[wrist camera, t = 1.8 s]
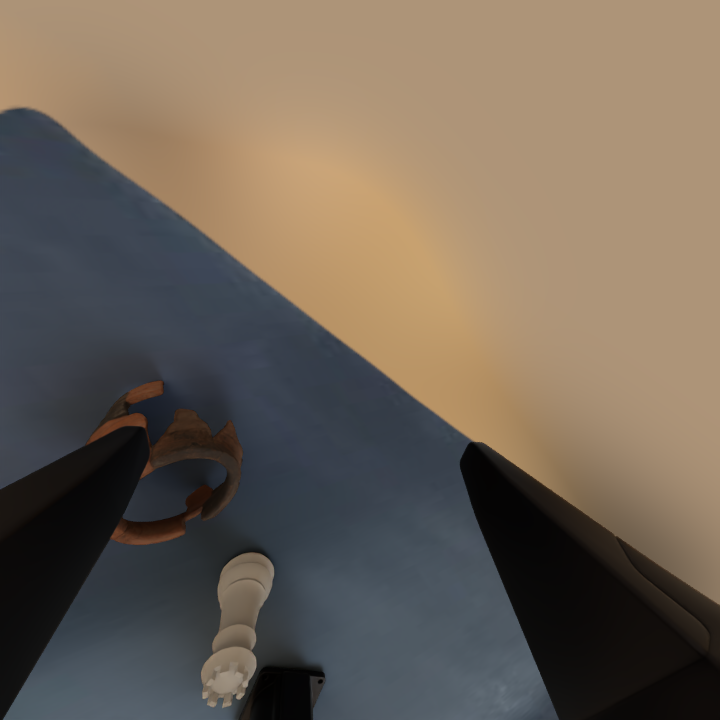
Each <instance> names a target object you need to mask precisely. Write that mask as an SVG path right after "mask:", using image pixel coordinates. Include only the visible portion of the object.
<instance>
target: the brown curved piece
mask: <svg viewBox="0 0 720 720" xmlns="http://www.w3.org/2000/svg"><path fill="white" fill-rule="evenodd" d="M163 385H164V382H163V381H155V382H150V383H147V384H144V385H141V386H139V387H137V388H135V389H133V390H131V391H129V392H127V393H126V394H124V395H123V396H122V397H120V398H119V399H118V400H117V401H116V402H115V403H114V405H113V406H112V407H111V409H110V410H109V412H108V413H107V415H106V416H105V418H104V419H103V420H102V421H101V423H100V424H99V426H98V427H97V428H96V430H95V431H94V432H93V434H92V435H91V436H90V438H89V440H88V441H87V443H86V445H87V444H89V443H91V442H93V441H95V440H97V439H99V438H101V437H103V436H105V435H107V434H108V433H110V432H112V431H114V430H116V429H118V428H120V427H122V426H142V427H144V428H145V429H146V432H147V437H148V442H149V447H150V457H149V460H148V462H147V465H146V467H145V469H144V471H143V473H142V475H141V477H140V479H142V478H143V477H145V476H146V475H148V474H149V473H151V472H152V471H154V470H155V469H156V468H159V467H162V466H165V465H168V464H170V463H173V462H176V461H180V460H185V459H197V458H204V459H211V460H216V461H217V462H219V463H221V464H222V465H223V466H224V467H225V468H226V470H227V477H226V480H225V482H224V483H222V484H221V485H220V486H219V487H217V488H215V489H214V490H213V489H212V488H210V487H208V486H207V485H203V486H201V487H200V488H198V489H197V490H195V491H194V492H193V493H192V494H191V495H189V496H188V497H187V499H186V503H185V504H186V506H187V507H188V508H187V511H186V512H185V513H182V514H180V515H177V516H174V517H171V518H167V519H163V520H158V521H153V522H133V521H128V520H125V519H123V518H121V520H120V522H119V524H118V526H117V528H116V529H115V531H114V533H113V535H112V536H111V538H110V539H112V540H115V541H117V542H121V543H124V544H133V545H146V544H151V543H154V544H155V543H159V542H163V541H167V540H171V539H174V538H177V537H179V536H181V535H183V534H185V531H186V525H185V522H186V521H187V520H189V519H191V518H193V517H195V516H197V515H198V514H200V513H201V519H202V520H204V521H205V520H208V519H211V518H214V517H215V516H216V515H218V514H219V513H220V512H221V511H222V510H223V509H224V508H225V507H226V505H227V504H228V503H229V502H230V501H231V500H232V498H233V497H234V495H235V493H236V492H237V489H238V486H239V481H240V478H241V470H240V467H241V464H242V455H243V450H242V447H241V445H240V443H239V441H238V438H237V435H236V432H235V428H234V425H233V423H232V421H231V420H229V421H227V423H226V425H225V427H224V428H223V429H222V430H221V431H220V432H219V433H217V434H216V435H215V436H214V437H212V435H211V429H210V428H209V426H208V425H207V423H205V422H204V421H203V420H201V419H200V418H199V417H198V415H197V413H196V412H195V411H193V410H188V409H177V410H176V411H175V416H174V422H173V423H172V424H171V425H170V426H169V427H168V428H167V430H166V431H165V433H164V434H163V436H162V437H161V438H160V439H159V440H158V441H157V443H156V444H155V445H154V446H152V444H151V442H150V439H149V436H148V430H147V427H148V421H147V418H146V417H144V415H142V414H140V413H134V414H131V415H129V412H128V409H129V407H130V405H132V404H135V403H137V402H140V401H142V400H145V399H148V398H152V397H156V396H159V395H162V394H163V393H164V390H163Z"/></svg>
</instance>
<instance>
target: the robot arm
mask: <svg viewBox="0 0 720 720" xmlns="http://www.w3.org/2000/svg"><path fill="white" fill-rule="evenodd" d="M149 457H150V447H149V442H148V437H147V432H146V429H145V428H144V427H142V426H122V427H120V428H118V429H116V430H114V431H112V432H110V433H108V434H107V435H105V436H103V437H101V438H99V439H97V440H95V441H93V442H91V443H89V444H87V445H85V446H83V447H81V448H80V449H78V450H76V451H74V452H72V453H70V454H68V455H66V456H64V457H62V458H60V459H58V460H56V461H55V462H53V463H51V464H49V465H47V466H45V467H43V468H41V469H39V470H37V471H35V472H33V473H31V474H30V475H28V476H26V477H24V478H22V479H20V480H18V481H16V482H14V483H12V484H10V485H8V486H6V487H5V488H3V489H1V490H0V720H3V718H4V717H5V715H6V713H7V712H8V710H9V708H10V707H11V705H12V703H13V702H14V700H15V698H16V697H17V695H18V693H19V691H20V690H21V688H22V686H23V685H24V683H25V681H26V680H27V678H28V676H29V675H30V673H31V671H32V670H33V668H34V666H35V664H36V663H37V661H38V659H39V658H40V656H41V654H42V653H43V651H44V649H45V648H46V646H47V644H48V643H49V641H50V639H51V638H52V636H53V634H54V632H55V631H56V629H57V627H58V626H59V624H60V622H61V621H62V619H63V617H64V616H65V614H66V612H67V611H68V609H69V607H70V605H71V604H72V602H73V600H74V599H75V597H76V595H77V594H78V592H79V590H80V589H81V587H82V585H83V584H84V582H85V580H86V578H87V577H88V575H89V573H90V572H91V570H92V568H93V567H94V565H95V563H96V562H97V560H98V558H99V557H100V555H101V553H102V551H103V550H104V548H105V546H106V545H107V543H108V541H109V540H110V538H111V536H112V535H113V533H114V531H115V529H116V528H117V526H118V524H119V522H120V520H121V518H122V516H123V514H124V512H125V510H126V508H127V506H128V503H129V501H130V499H131V497H132V495H133V493H134V490H135V488H136V486H137V484H138V482H139V480H140V477H141V475H142V473H143V471H144V469H145V467H146V465H147V462H148V460H149ZM460 469H461V472H462V475H463V479H464V482H465V485H466V488H467V491H468V495H469V498H470V501H471V504H472V508H473V511H474V513H475V516H476V519H477V522H478V524H479V527H480V529H481V531H482V534H483V536H484V539H485V541H486V544H487V546H488V548H489V551H490V553H491V556H492V558H493V561H494V563H495V565H496V568H497V570H498V573H499V575H500V578H501V580H502V582H503V585H504V587H505V590H506V592H507V594H508V597H509V599H510V602H511V604H512V607H513V609H514V611H515V614H516V616H517V619H518V621H519V624H520V626H521V628H522V631H523V633H524V636H525V638H526V640H527V643H528V645H529V648H530V650H531V653H532V655H533V657H534V660H535V662H536V665H537V667H538V670H539V672H540V674H541V677H542V679H543V682H544V684H545V686H546V689H547V691H548V694H549V696H550V699H551V701H552V703H553V706H554V708H555V711H556V713H557V716H558V718H559V720H720V605H719V604H717V603H716V602H714V601H713V600H711V599H709V598H708V597H706V596H705V595H703V594H701V593H700V592H699V591H697V590H695V589H694V588H693V587H691V586H689V585H688V584H686V583H685V582H683V581H682V580H680V579H679V578H677V577H676V576H674V575H673V574H671V573H670V572H668V571H667V570H665V569H664V568H662V567H661V566H659V565H658V564H656V563H655V562H653V561H652V560H650V559H649V558H648V557H646V556H645V555H643V554H642V553H640V552H639V551H637V550H636V549H634V548H633V547H632V546H630V545H629V544H627V543H626V542H624V541H623V540H622V539H620V538H619V537H617V536H615V535H614V534H613V533H612V532H610V531H609V530H607V529H606V528H604V527H603V526H602V525H600V524H599V523H597V522H596V521H594V520H593V519H591V518H590V517H589V516H587V515H586V514H584V513H583V512H582V511H580V510H579V509H577V508H576V507H574V506H573V505H572V504H570V503H568V502H567V501H566V500H564V499H563V498H562V497H560V496H559V495H557V494H556V493H554V492H553V491H552V490H550V489H549V488H547V487H546V486H544V485H543V484H542V483H540V482H539V481H537V480H536V479H534V478H533V477H532V476H530V475H529V474H527V473H526V472H524V471H523V470H522V469H520V468H519V467H517V466H516V465H514V464H513V463H511V462H510V461H509V460H507V459H506V458H504V457H503V456H502V455H500V454H499V453H497V452H496V451H494V450H493V449H492V448H490V447H489V446H487V445H486V444H484V443H482V442H470V443H469V444H468V445H467V447H466V449H465V451H464V453H463V455H462V457H461V460H460ZM324 683H325V674H324V673H323V672H316V671H305V670H294V669H283V668H272V667H265V668H263V669H261V671H260V673H259V675H258V678H257V680H256V682H255V684H254V687H253V689H252V691H251V693H250V696H249V698H248V700H247V702H246V705H245V707H244V709H243V712H242V714H241V716H240V718H239V720H313V707H314V705H315V703H316V701H317V699H318V696H319V694H320V692H321V690H322V687H323V685H324Z"/></svg>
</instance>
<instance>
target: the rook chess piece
mask: <svg viewBox="0 0 720 720" xmlns="http://www.w3.org/2000/svg"><path fill="white" fill-rule="evenodd" d="M273 577H274V567H273V565H272V563H271V562H270V560H269V559H268V558H267V557H265V556H264V555H262V554H260V553H255V552H249V553H243V554H241V555H239V556H237V557H235V558H234V559H232V560H230V562H229V563H228V564H227V565H226V566H225V567H224V568H223V570H222V573H221V575H220V582H219V585H218V601H219V602H220V608H221V610H222V613H221V621H220V629H219V633H218V635H217V636H216V637H215V639H214V641H213V644H212V648H213V653H214V654H213V655H212V656H211V657H210V658H209V659H208V660H207V661H206V662H205V664H204V666H203V669H202V671H201V679H202V683H203V685H204V688H203V692H202V694H203V699H205V698H207V697H208V696H209V699H208V703H207V705H209V706H211V707H215V705H216V704H217V699H218V698H224V702H223V707H227V706H230V705H231V704H232V698H233V695H234V694H236V693H237V695H236V698H237V699H238V700H240V699H241V698H242V697H243V695H244V694H245V689H246V687H248V681H249V680H250V679H251V677H252V676H253V674H254V672H255V669H256V667H257V666H256V657H255V656H254V654H253V653H252V651H251V650H252V649H253V648H254V645H255V643H256V634H255V632H254V631H255V625H256V621H257V617H258V613H259V610H260V608H261V607H262V606H263V604H264V601H265V600H266V599H267V598H268V595H269V593H270V590H271V588H272V580H273ZM223 707H222V708H223Z"/></svg>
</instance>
